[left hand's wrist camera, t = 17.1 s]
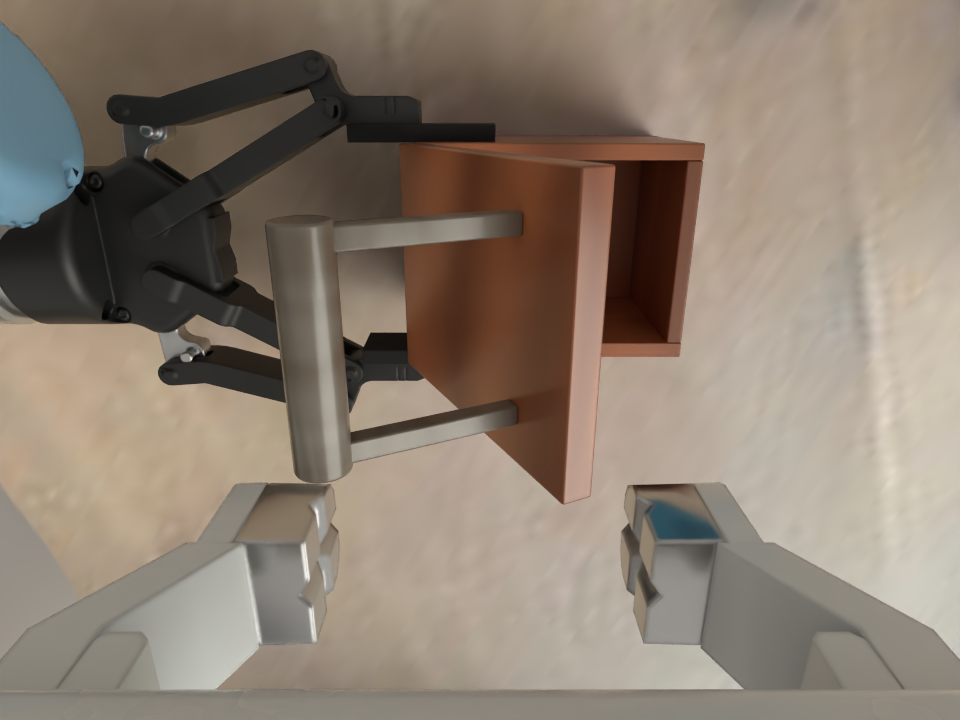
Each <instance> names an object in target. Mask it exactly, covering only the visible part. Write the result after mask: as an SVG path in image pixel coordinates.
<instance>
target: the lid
mask: <svg viewBox="0 0 960 720" xmlns="http://www.w3.org/2000/svg"><path fill="white" fill-rule="evenodd" d="M399 149H400V174H401V198H402V217H392V218H377V219H363V220H349V221H333V219H331V218H329V217H325V216H316V215H296V216H284V217H277V218H273V219H270V220H268V221H266V223H265V230H266V238H267V247H268V255H269V264H270V272H271V281H272V289H273V298H274V306H275V315H276V323H277V331H278V340H279V348H280V357H281V365H282V374H283V382H284V391H285V399H286V408H287V416H288V425H289V433H290V442H291V450H292V459H293V467H294V473H295V475H296V476H297V477H298V478H299V479H300V480H302V481H305V482H308V483H327V482H332V481H335V480H338V479H340V478H342V477H344V476H346V475H347V474H348V473H349V472H350V471H351V469H352V466H353V463H355V462H359V461H363V460H368V459H372V458H376V457H381V456H385V455H389V454H394V453H398V452H402V451H406V450H411V449H415V448H419V447H424V446H428V445H432V444H436V443H441V442H445V441H449V440H454V439H458V438H462V437H467V436H471V435H475V434H479V433H485V434H486V435H487V436H489V437H490V438H491V439H492V440H493V441H494V442H495V443H496V444H497V445H498V446H499V447H500V448H502V449H503V450H504V451H505V452H506V453H507V454H508V455H509V456H510V457H511V458H512V459H514V460H515V461H516V462H517V463H518V464H519V465H520V466H521V467H522V468H523V469H524V470H525V471H527V472H528V473H529V474H530V475H531V476H532V477H533V478H534V479H535V480H536V481H537V482H539V483H540V484H541V485H542V486H543V487H544V488H545V489H546V490H547V491H548V492H549V493H550V494H552V495H553V496H554V497H555V498H556V499H557V500H558V501H559V502H560V503H561V504H567V503H571V502H574V501H577V500H581V499H584V498H587V497H590V495H591V483H592V470H593V457H594V444H595V430H596V417H597V404H598V391H599V377H600V364H601V351H602V338H603V325H604V311H605V298H606V285H607V272H608V259H609V245H610V232H611V219H612V206H613V192H614V179H615V166H614V165H613V164H605V163H596V162H586V161H577V160H568V159H559V158H550V157H541V156H532V155H523V154H514V153H505V152H496V151H487V150H478V149H469V148H460V147H451V146H442V145H433V144H424V143H403V144H400V145H399ZM402 246H403V247H404V272H405V296H406V321H407V345H408V363H409V364H410V365H411V366H412V367H414V368H415V369H416V370H417V371H418V372H419V373H420V374H421V375H422V376H423V377H424V378H425V379H427V380H428V381H429V382H430V383H431V384H432V385H433V386H434V387H435V388H436V389H437V390H439V391H440V392H441V393H442V394H443V395H444V396H445V397H446V398H447V399H448V400H449V401H450V402H452V403H453V404H454V405H455V406H456V407H457V408H458V409H459V410H454V411H449V412H444V413H440V414H435V415H430V416H426V417H421V418H416V419H411V420H407V421H402V422H397V423H393V424H388V425H383V426H378V427H374V428H369V429H364V430H359V431H355V432H351V431H350V419H349V406H348V393H347V381H346V368H345V356H344V343H343V330H342V318H341V305H340V292H339V280H338V267H337V254H336V252H347V251H358V250H369V249H380V248H391V247H402Z"/></svg>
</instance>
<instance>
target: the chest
mask: <svg viewBox="0 0 960 720" xmlns="http://www.w3.org/2000/svg"><path fill="white" fill-rule="evenodd" d="M414 143H424V144H433V145H442V146H451V147H460V148H469V149H478V150H487V151H496V152H505V153H514V154H523V155H532V156H541V157H550V158H559V159H568V160H577V161H586V162H596V163H605V164H613V165H614V166H615V179H614V192H613V206H612V219H611V232H610V245H609V259H608V272H607V285H606V298H605V311H604V325H603V338H602V351H601V357H679V356H680V348H681V343H680V342H681V338H682V330H683V322H684V314H685V305H686V297H687V289H688V281H689V273H690V265H691V257H692V248H693V240H694V232H695V224H696V216H697V208H698V200H699V191H700V183H701V175H702V167H703V161H701V160H703V158H704V150H705V144H704V143H698V142H691V141H683V140H676V139H669V138H661V137H657V136H495V142H414Z"/></svg>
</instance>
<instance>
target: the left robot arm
mask: <svg viewBox="0 0 960 720" xmlns="http://www.w3.org/2000/svg"><path fill="white" fill-rule="evenodd" d="M335 509H336V503H335V495H334V489H333V487H332V486H331V484H292V483H270V484H269V483H239V484H236V485H234V486H233V488H232V489H231V491H230V492H229V494H228V495H227V497H226V498H225V500H224V501H223V503H222V504H221V506H220V507H219V509H218V510H217V512H216V513H215V515H214V516H213V518H212V519H211V521H210V522H209V524H208V525H207V527H206V528H205V530H204V531H203V533H202V534H201V536H200V537H199V539H198V540H197V542H196V543H185V544H183V545H181V546H179V547H177V548H175V549H174V550H172V551H170V552H168V553H166V554H164V555H163V556H161V557H159V558H157V559H155V560H153V561H152V562H150V563H148V564H146V565H144V566H142V567H141V568H139V569H137V570H135V571H133V572H131V573H129V574H128V575H126V576H124V577H122V578H120V579H118V580H117V581H115V582H113V583H111V584H109V585H107V586H106V587H104V588H102V589H100V590H98V591H96V592H95V593H93V594H91V595H89V596H87V597H85V598H83V599H82V600H80V601H78V602H76V603H74V604H72V605H71V606H69V607H67V608H65V609H63V610H61V611H60V612H58V613H56V614H54V615H52V616H50V617H49V618H47V619H45V620H43V621H41V622H39V623H37V624H36V625H34V626H32V627H30V628H28V629H27V630H26V631H25V633H24V634H23V635H22V636H21V637H20V638H19V639H18V640H17V642H16V643H15V644H14V645H13V646H12V647H11V648H10V649H9V651H8V652H7V653H6V654H5V655H4V656H3V657H2V658H1V660H0V720H960V659H959V658H958V657H957V656H956V655H955V654H954V652H953V651H952V650H951V649H950V648H949V647H948V646H947V644H946V643H945V642H944V641H943V640H942V639H941V638H940V636H939V635H938V634H937V633H936V632H935V631H934V630H933V629H931V628H929V627H928V626H926V625H924V624H922V623H920V622H918V621H917V620H915V619H913V618H911V617H909V616H907V615H906V614H904V613H902V612H900V611H898V610H896V609H895V608H893V607H891V606H889V605H887V604H885V603H884V602H882V601H880V600H878V599H876V598H874V597H873V596H871V595H869V594H867V593H865V592H863V591H862V590H860V589H858V588H856V587H854V586H852V585H851V584H849V583H847V582H845V581H843V580H841V579H840V578H838V577H836V576H834V575H832V574H830V573H829V572H827V571H825V570H823V569H821V568H819V567H818V566H816V565H814V564H812V563H810V562H808V561H807V560H805V559H803V558H801V557H799V556H797V555H795V554H794V553H792V552H790V551H788V550H786V549H784V548H783V547H781V546H779V545H777V544H775V543H764V542H763V540H762V539H761V537H760V536H759V534H758V533H757V531H756V530H755V528H754V527H753V525H752V524H751V522H750V521H749V519H748V518H747V516H746V515H745V514H744V512H743V511H742V509H741V508H740V506H739V505H738V503H737V502H736V500H735V499H734V497H733V496H732V494H731V493H730V491H729V490H728V488H727V487H726V485H724V484H722V483H720V482H718V483H692V484H656V485H628V486H627V490H626V494H625V502H624V509H625V512H626V515H627V518H628V521H629V523H628V525H627V526H626V527H625V528H624V529H623V530H622V533H621V548H620V550H621V567H622V573H623V578H624V582H625V585H626V589H627V590H628V591H629V592H630V593H631V594H633V595H634V596H635V597H634V607H633V612H634V615H635V618H636V621H637V624H638V627H639V630H640V634H641V637H642V640H643V643H644V644H680V645H701V649H703V650H704V651H705V652H706V653H707V654H708V655H709V656H710V657H711V658H712V659H713V660H714V661H715V662H716V663H717V664H718V665H719V666H720V667H721V668H723V669H724V670H725V671H726V672H727V673H728V674H729V675H730V676H731V677H732V678H733V679H734V680H735V681H736V682H737V683H738V684H739V685H740V686H741V687H743V688H744V689H573V690H278V689H217V688H218V687H219V686H220V685H221V684H222V683H223V682H224V681H225V680H226V679H227V678H228V677H229V676H230V675H231V674H233V673H234V672H235V671H236V670H237V669H238V668H239V667H240V666H241V665H242V664H243V663H244V662H245V661H246V660H247V659H248V658H249V657H250V656H252V655H253V654H254V653H255V652H256V651H257V650H258V649H259V645H280V644H315V643H317V640H318V637H319V634H320V631H321V627H322V624H323V621H324V618H325V615H326V612H327V607H326V597H325V596H326V595H327V594H329V593H330V592H331V591H332V590H333V589H334V585H335V582H336V578H337V573H338V565H339V533H338V530H337V529H336V528H335V527H334V526H333V525H332V523H331V521H332V518H333V515H334V512H335Z"/></svg>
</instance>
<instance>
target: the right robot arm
mask: <svg viewBox="0 0 960 720" xmlns="http://www.w3.org/2000/svg"><path fill="white" fill-rule="evenodd" d="M307 89H310V91H311V94H312V96H313V98H314V101H315V103H314V104H312V105H311V106H309V107H307V108H306V109H304V110H303V111H301V112H300V113H298V114H297V115H295V116H293V117H292V118H290V119H289V120H287V121H286V122H284V123H282V124H281V125H279V126H278V127H276V128H275V129H273V130H272V131H270V132H268V133H267V134H265V135H264V136H262V137H261V138H259V139H257V140H256V141H254V142H253V143H251V144H250V145H248V146H247V147H245V148H243V149H242V150H240V151H239V152H237V153H236V154H234V155H232V156H231V157H229V158H228V159H226V160H225V161H223V162H222V163H220V164H218V165H217V166H215V167H214V168H212V169H210V170H209V171H207V172H205V173H202V174H200V175H199V176H197V177H195V178H194V179H192V180H191V181H190V180H189V179H188V178H186V177H185V176H183V175H182V174H180V173H179V172H177V171H176V170H174V169H173V168H171V167H170V166H168V165H167V164H165V163H164V162H162V161H161V160H159V159H157V158H156V150H157V148H158V147H159V146H160V145H162V144H166V143H170V142H171V141H173V140H174V138H175V136H176V126H181V125H192V124H197V123H201V122H204V121H208V120H211V119H214V118H217V117H220V116H224V115H227V114H230V113H233V112H236V111H240V110H243V109H246V108H249V107H253V106H256V105H259V104H262V103H265V102H269V101H272V100H275V99H278V98H281V97H285V96H288V95H291V94H294V93H297V92H301V91H304V90H307ZM107 111H108V114H109V116H110V117H111V118H112V119H113V120H114V121H115V122H117V123H120V124H121V129H122V138H123V146H124V154H125V158H122V159H120V160H119V161H117V162H116V163H114V164H113V165H110V166H84V162H85V159H84V147H83V141H82V138H81V134H80V131H79V128H78V125H77V122H76V120H75V117H74V115H73V112H72V110H71V108H70V106H69V104H68V102H67V100H66V99H65V97H64V95H63V93H62V92H61V90H60V88H59V87H58V85H57V84H56V82H55V81H54V79H53V78H52V76H51V75H50V74H49V72H48V71H47V69H46V68H45V67H44V66H43V64H42V63H41V62H40V60H39V59H38V58H37V57H36V56H35V54H34V53H33V52H32V51H31V50H30V49H29V48H28V47H27V45H26V44H25V43H24V42H23V41H22V40H21V39H20V38H19V37H18V36H17V35H15V34H13V33H12V32H11V31H10V30H9V29H8V28H7V27H6V26H5V25H4V24H2V23H1V22H0V324H32V323H35V322H40V323H45V324H123V323H132V324H137V325H141V326H143V327H146V328H148V329H150V330H152V331H154V332H158V335H159V338H160V342H161V346H162V349H163V353H164V357H165V360H166V362H165V363H164V364H163V365H162V366H161V367H160V368H159V370H158V376H159V378H160V379H161V380H162V381H163V382H164V383H165V384H168V385H185V384H199V383H207V384H211V385H215V386H220V387H224V388H228V389H232V390H236V391H240V392H244V393H248V394H252V395H256V396H260V397H264V398H268V399H272V400H276V401H280V402H285V403H286V399H285V391H284V382H283V374H282V365H281V359H277V358H273V357H269V356H265V355H261V354H257V353H253V352H250V351H246V350H242V349H238V348H233V347H228V346H220V345H210V341H209V340H208V339H207V338H205V337H200V336H194V335H192V334H190V333H189V332H188V331H187V329H186V328H185V325H184V324H185V323H187V322H188V321H189V320H190V319H192V318H193V317H194V316H196V315H197V314H198V315H200V316H202V317H204V318H206V319H208V320H210V321H212V322H214V323H216V324H218V325H221V326H231V327H234V328H236V329H238V330H240V331H243V332H245V333H247V334H249V335H251V336H253V337H255V338H257V339H259V340H261V341H263V342H265V343H267V344H269V345H271V346H273V347H275V348H277V349H279V350H280V348H279V340H278V331H277V323H276V315H275V306H274V301H272V300H270V299H268V298H266V297H264V296H262V295H260V294H259V293H257V291H256V290H255V288H254V287H252V286H251V285H249V284H247V283H245V282H243V281H241V280H239V279H237V278H235V277H234V275H236V274H237V273H238V271H237V264H236V258H235V255H234V253H233V251H232V248H231V246H230V234H231V221H230V214H229V212H225V210H224V208H223V206H222V205H221V203H223V202H224V201H226V200H227V199H229V198H231V197H232V196H234V195H235V194H237V193H238V192H240V191H241V190H243V189H244V188H245V187H246V186H248V185H250V184H251V183H253V182H254V181H256V180H258V179H259V178H261V177H262V176H264V175H266V174H267V173H269V172H270V171H272V170H274V169H275V168H277V167H278V166H280V165H282V164H283V163H285V162H286V161H288V160H290V159H291V158H293V157H294V156H296V155H298V154H299V153H301V152H302V151H304V150H306V149H307V148H309V147H310V146H312V145H314V144H315V143H317V142H318V141H320V140H322V139H323V138H325V137H326V136H328V135H329V134H331V133H333V132H334V131H336V130H337V129H339V128H341V127H342V126H344V125H347V139H348V142H495V124H494V123H422V113H421V101H419V100H417V99H414V98H412V97H409V96H354V95H351V94H350V93H349V92H347V90H346V89H345V88H344V86H343V84H342V82H341V79H340V77H339V74H338V72H337V65H336V63H335V61H334V60H333V59H332V58H331V57H330V56H327V55H325V54H322V53H320V52H317V51H314V50H307V51H304V52H300V53H297V54H294V55H291V56H288V57H285V58H282V59H278V60H275V61H272V62H269V63H266V64H263V65H260V66H256V67H253V68H250V69H247V70H244V71H241V72H238V73H234V74H231V75H228V76H225V77H222V78H219V79H215V80H212V81H209V82H206V83H203V84H200V85H197V86H193V87H190V88H187V89H184V90H181V91H178V92H175V93H171V94H168V95H165V96H162V97H154V96H138V95H113V96H112V97H110V98H109V100H108V102H107ZM343 343H344V356H345V368H346V381H347V393H348V406H349V413H350V412H351V410H352V408H353V406H354V403H355V401H356V399H357V396H358V394H359V391H360V388H361V385H362V384H364V383H365V382H368V381H398V380H399V381H405V380H407V381H418V380H421V379H423V378H424V377H423V376H422V375H421V374H420V373H419V372H418V371H417V370H416V369H415V368H414V367H412V366H411V365H410V364H409V363H408V345H407V333H370V335H369V337H368V339H367V341H366V343H365V346H364V347H362V346H361V345H359V344H357V343H355V342H353V341H351V340H349V339H347V338H345V337H343Z"/></svg>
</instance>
